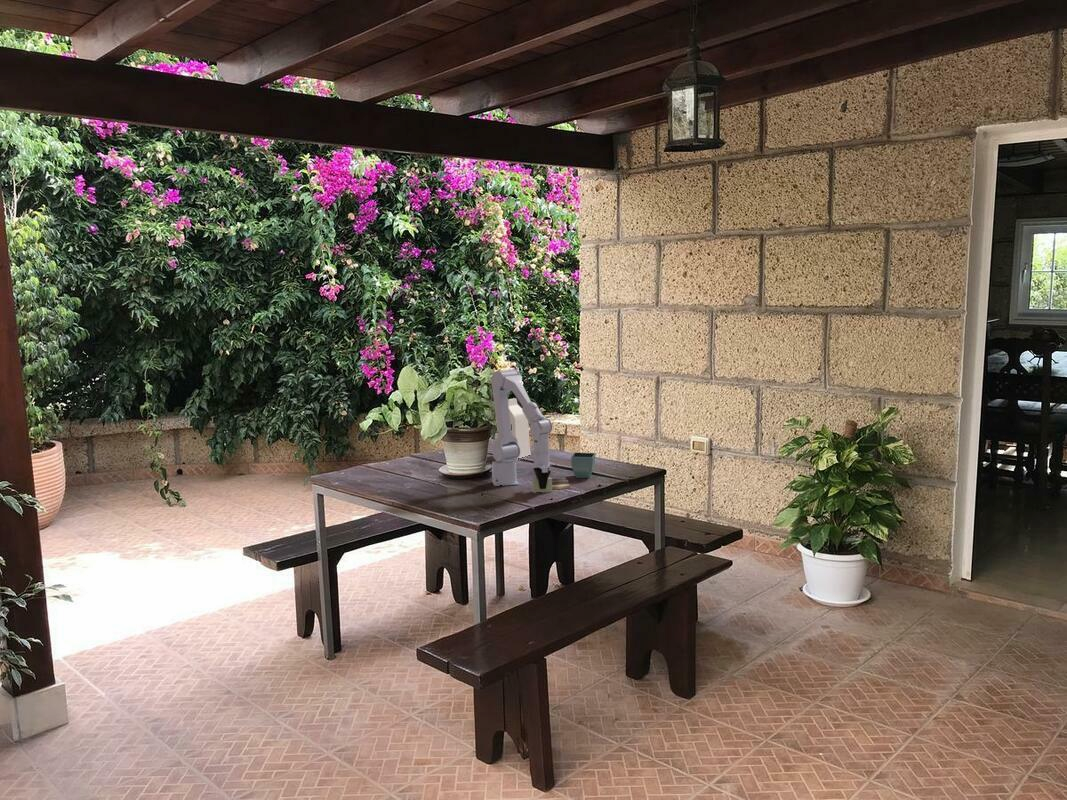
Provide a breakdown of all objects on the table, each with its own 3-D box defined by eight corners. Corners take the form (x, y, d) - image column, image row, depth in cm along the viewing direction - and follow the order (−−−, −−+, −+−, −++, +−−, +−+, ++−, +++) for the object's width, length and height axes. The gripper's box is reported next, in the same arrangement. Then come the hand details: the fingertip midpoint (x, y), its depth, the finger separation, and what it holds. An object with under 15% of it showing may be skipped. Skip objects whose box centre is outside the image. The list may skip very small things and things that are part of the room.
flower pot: (593, 479, 338) (592, 457, 337) (570, 479, 340) (570, 456, 338) (596, 474, 346) (595, 452, 345) (574, 474, 348) (574, 452, 347)
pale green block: (533, 493, 318) (533, 479, 318) (532, 491, 321) (532, 478, 320) (552, 491, 319) (551, 478, 319) (551, 490, 322) (550, 477, 321)
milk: (516, 460, 379) (515, 401, 375) (494, 458, 385) (493, 400, 381) (530, 455, 389) (529, 398, 385) (509, 453, 395) (507, 396, 391)
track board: (543, 489, 322) (543, 484, 322) (538, 482, 334) (538, 477, 334) (570, 488, 324) (570, 482, 324) (564, 481, 336) (564, 475, 335)
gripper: (555, 454, 311) (556, 491, 313) (548, 447, 326) (549, 482, 327) (536, 455, 310) (537, 492, 312) (530, 448, 325) (531, 483, 326)
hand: (542, 487), depth 320 cm, fingers closed on pale green block, 2 cm apart
